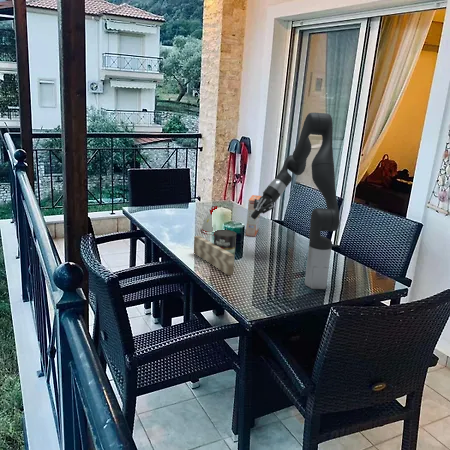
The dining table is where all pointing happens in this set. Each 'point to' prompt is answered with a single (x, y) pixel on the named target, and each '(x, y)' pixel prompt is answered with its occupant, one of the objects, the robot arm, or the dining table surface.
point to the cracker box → (252, 223)
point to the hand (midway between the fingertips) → (252, 217)
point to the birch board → (214, 255)
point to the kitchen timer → (208, 221)
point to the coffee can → (225, 240)
